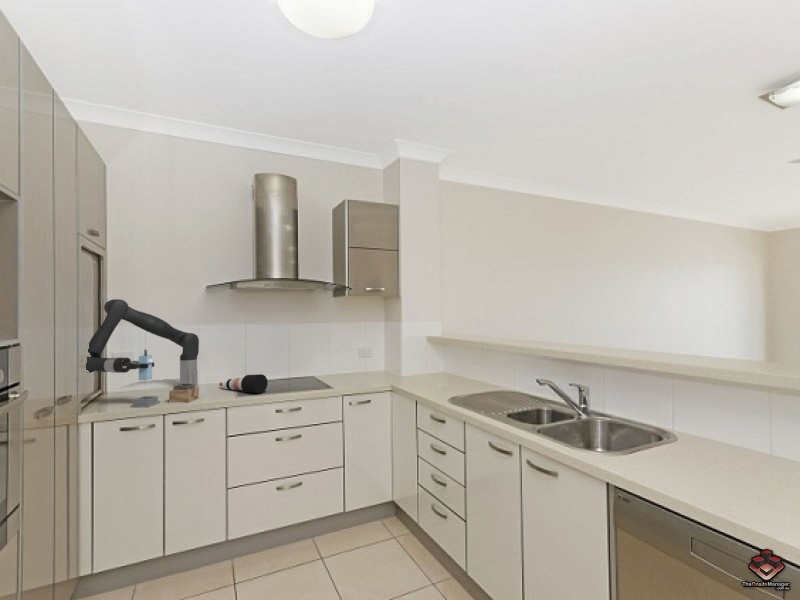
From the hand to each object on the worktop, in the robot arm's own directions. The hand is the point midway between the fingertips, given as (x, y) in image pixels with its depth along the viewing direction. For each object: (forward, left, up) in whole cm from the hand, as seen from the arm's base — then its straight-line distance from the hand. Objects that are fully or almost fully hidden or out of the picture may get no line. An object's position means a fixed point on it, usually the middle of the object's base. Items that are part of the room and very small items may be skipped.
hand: (150, 365), depth 202 cm
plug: (0, -3, -7) cm, 8 cm away
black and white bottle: (-33, +31, -20) cm, 50 cm away
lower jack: (0, -3, -20) cm, 20 cm away
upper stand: (-10, +11, -20) cm, 25 cm away
